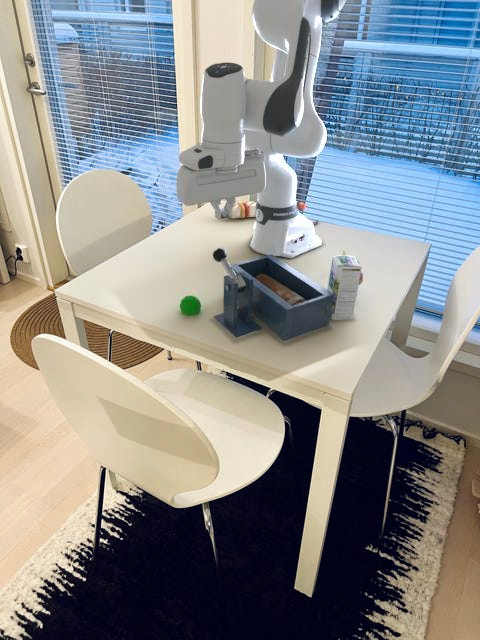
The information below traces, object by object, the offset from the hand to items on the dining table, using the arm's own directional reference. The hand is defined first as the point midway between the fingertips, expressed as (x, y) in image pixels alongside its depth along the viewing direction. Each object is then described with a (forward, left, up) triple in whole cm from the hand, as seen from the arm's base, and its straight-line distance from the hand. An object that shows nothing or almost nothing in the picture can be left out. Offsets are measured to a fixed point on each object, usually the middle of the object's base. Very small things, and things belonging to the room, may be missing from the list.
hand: (222, 217), depth 110 cm
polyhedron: (+7, -2, -24) cm, 25 cm away
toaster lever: (0, +3, -12) cm, 13 cm away
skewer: (-43, -48, -24) cm, 69 cm away
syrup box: (-24, +16, -24) cm, 37 cm away
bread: (-11, +7, -22) cm, 25 cm away
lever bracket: (0, +8, -24) cm, 25 cm away
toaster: (-11, +7, -24) cm, 27 cm away
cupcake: (-33, +8, -24) cm, 41 cm away
